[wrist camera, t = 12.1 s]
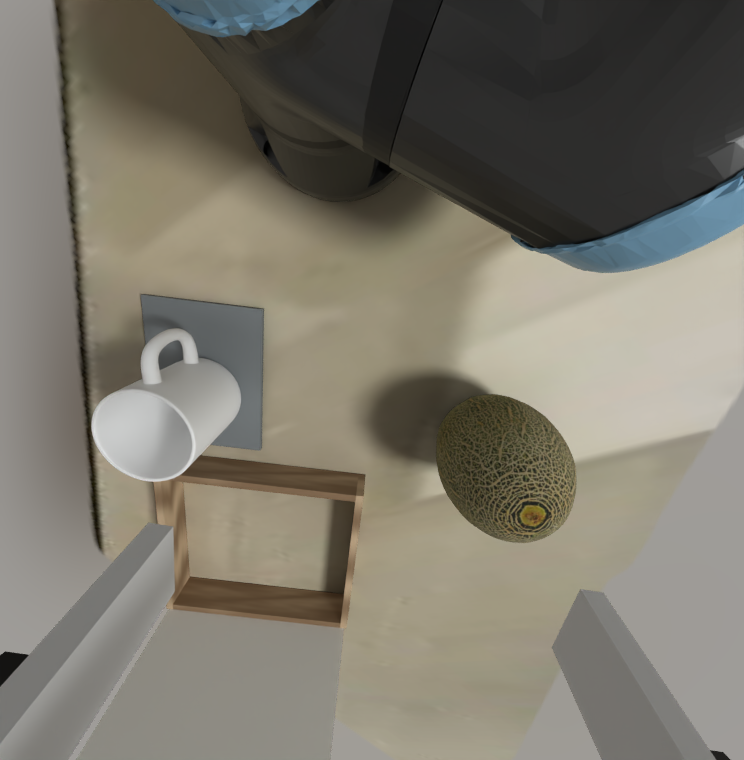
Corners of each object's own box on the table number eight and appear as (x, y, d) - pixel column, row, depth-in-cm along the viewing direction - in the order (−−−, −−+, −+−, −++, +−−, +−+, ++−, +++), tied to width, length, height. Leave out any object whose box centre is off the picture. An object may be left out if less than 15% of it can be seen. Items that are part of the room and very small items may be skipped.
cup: (170, 423, 38) (100, 477, 29) (158, 316, 34) (72, 336, 25) (244, 430, 38) (198, 486, 29) (241, 323, 34) (186, 347, 25)
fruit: (551, 407, 37) (655, 495, 23) (492, 484, 40) (552, 603, 26) (461, 359, 36) (514, 421, 21) (408, 443, 39) (423, 545, 25)
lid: (186, 580, 47) (-1, 882, 24) (346, 598, 47) (314, 914, 24) (187, 597, 48) (9, 902, 25) (344, 615, 48) (311, 933, 25)
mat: (144, 294, 34) (140, 294, 34) (263, 308, 34) (261, 309, 34) (158, 435, 39) (154, 438, 39) (261, 447, 40) (259, 450, 39)
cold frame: (174, 452, 40) (152, 472, 36) (365, 474, 40) (363, 496, 37) (184, 580, 47) (166, 608, 43) (349, 599, 47) (346, 628, 43)
